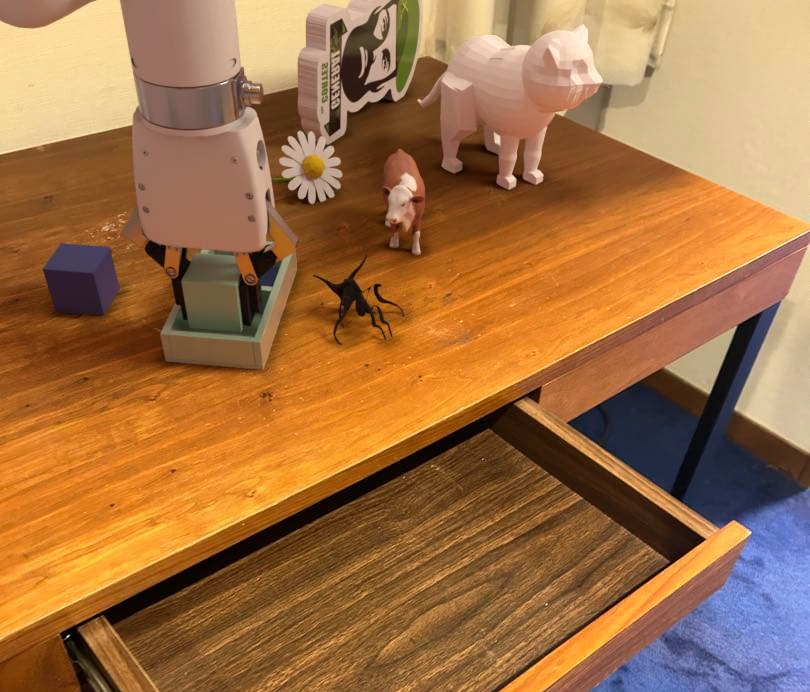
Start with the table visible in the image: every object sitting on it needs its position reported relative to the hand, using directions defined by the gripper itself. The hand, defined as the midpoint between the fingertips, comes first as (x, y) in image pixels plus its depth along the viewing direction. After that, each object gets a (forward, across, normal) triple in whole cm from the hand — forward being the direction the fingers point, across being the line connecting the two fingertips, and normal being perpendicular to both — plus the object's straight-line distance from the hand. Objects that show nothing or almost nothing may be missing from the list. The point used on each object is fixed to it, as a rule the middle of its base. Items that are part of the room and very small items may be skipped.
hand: (220, 312), depth 75 cm
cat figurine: (+3, -23, -38) cm, 45 cm away
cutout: (+3, -6, -51) cm, 51 cm away
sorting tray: (+3, 0, -4) cm, 5 cm away
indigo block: (+3, +14, -4) cm, 15 cm away
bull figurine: (+3, -14, -20) cm, 25 cm away
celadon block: (0, 0, 0) cm, 0 cm away
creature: (+3, -12, -4) cm, 13 cm away
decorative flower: (+3, +1, -28) cm, 28 cm away
